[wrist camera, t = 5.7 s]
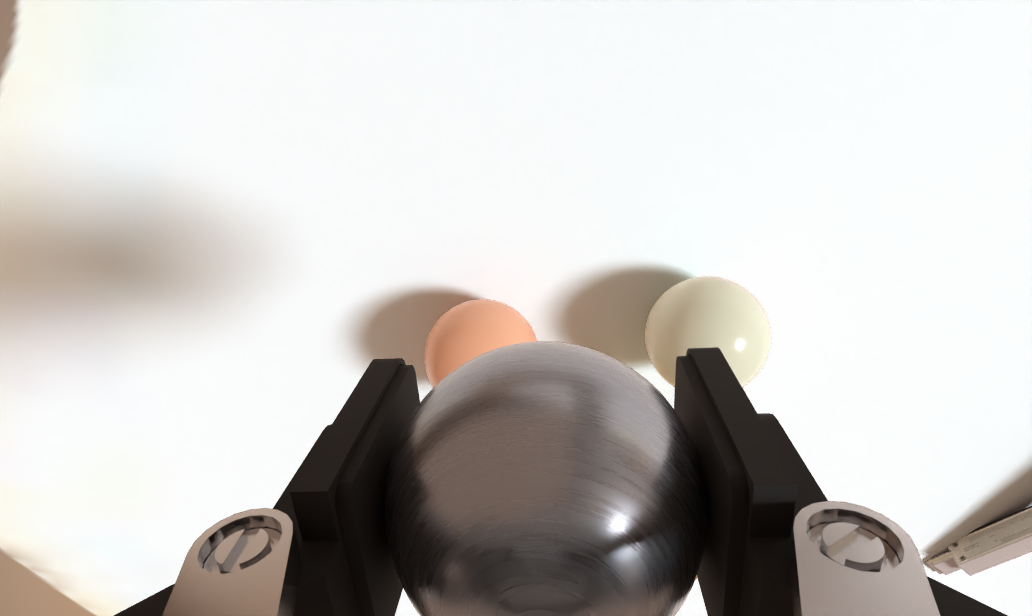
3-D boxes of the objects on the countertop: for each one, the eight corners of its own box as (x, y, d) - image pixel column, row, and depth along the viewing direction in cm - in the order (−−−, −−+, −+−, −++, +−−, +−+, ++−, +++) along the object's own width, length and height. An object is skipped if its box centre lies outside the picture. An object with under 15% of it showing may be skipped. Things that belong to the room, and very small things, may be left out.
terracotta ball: (430, 285, 27) (403, 331, 23) (537, 279, 27) (532, 325, 22) (443, 380, 29) (421, 439, 25) (544, 376, 29) (541, 436, 24)
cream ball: (637, 263, 26) (654, 307, 22) (754, 257, 26) (796, 300, 21) (638, 363, 28) (653, 422, 23) (746, 359, 28) (783, 419, 23)
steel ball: (406, 301, 11) (298, 470, 6) (677, 289, 11) (771, 462, 6) (438, 513, 13) (372, 761, 8) (670, 510, 12) (737, 772, 8)
